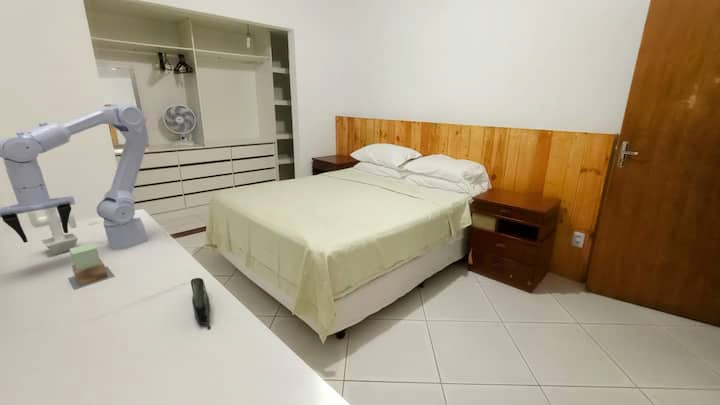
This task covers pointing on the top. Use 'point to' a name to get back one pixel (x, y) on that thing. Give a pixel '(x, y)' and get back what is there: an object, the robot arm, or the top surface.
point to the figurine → (55, 230)
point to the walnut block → (90, 274)
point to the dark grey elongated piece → (200, 301)
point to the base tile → (76, 285)
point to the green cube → (85, 256)
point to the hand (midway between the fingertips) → (46, 236)
